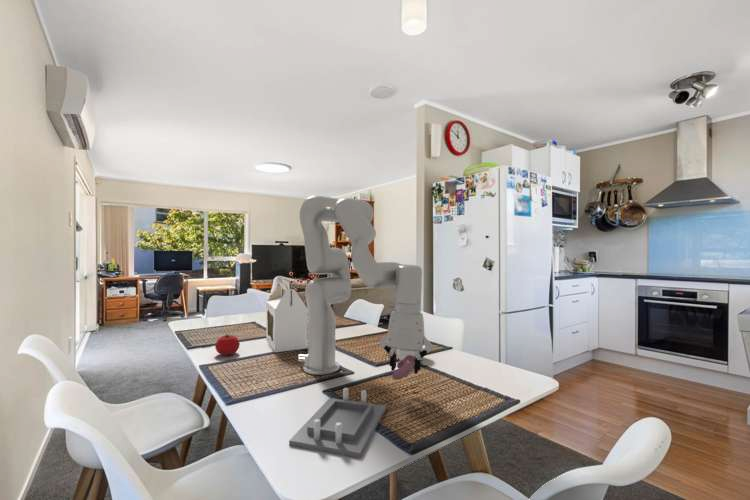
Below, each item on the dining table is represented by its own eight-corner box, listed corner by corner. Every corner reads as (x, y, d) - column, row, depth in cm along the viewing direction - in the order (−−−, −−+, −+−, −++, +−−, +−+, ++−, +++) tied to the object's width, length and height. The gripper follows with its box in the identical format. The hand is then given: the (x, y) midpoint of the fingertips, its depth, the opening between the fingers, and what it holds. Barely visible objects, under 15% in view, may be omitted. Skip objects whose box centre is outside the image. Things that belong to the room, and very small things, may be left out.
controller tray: (289, 445, 75) (289, 421, 75) (329, 401, 96) (329, 383, 96) (359, 457, 70) (360, 433, 70) (386, 409, 92) (386, 390, 92)
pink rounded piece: (404, 387, 95) (417, 366, 94) (390, 378, 96) (402, 357, 95) (409, 373, 104) (420, 354, 104) (395, 365, 105) (407, 346, 104)
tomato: (210, 356, 134) (210, 336, 134) (224, 350, 142) (224, 330, 142) (230, 358, 132) (230, 337, 132) (244, 351, 140) (244, 332, 140)
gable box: (266, 339, 160) (266, 278, 159) (295, 336, 165) (295, 277, 165) (274, 352, 140) (275, 283, 139) (307, 348, 145) (307, 281, 145)
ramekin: (430, 357, 135) (430, 344, 135) (417, 366, 126) (417, 351, 126) (404, 352, 141) (404, 339, 141) (390, 360, 132) (390, 346, 132)
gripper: (374, 307, 98) (372, 371, 98) (436, 313, 93) (433, 380, 94) (381, 303, 105) (379, 362, 106) (439, 308, 100) (436, 370, 101)
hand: (404, 370), depth 100 cm, fingers closed on pink rounded piece, 6 cm apart
